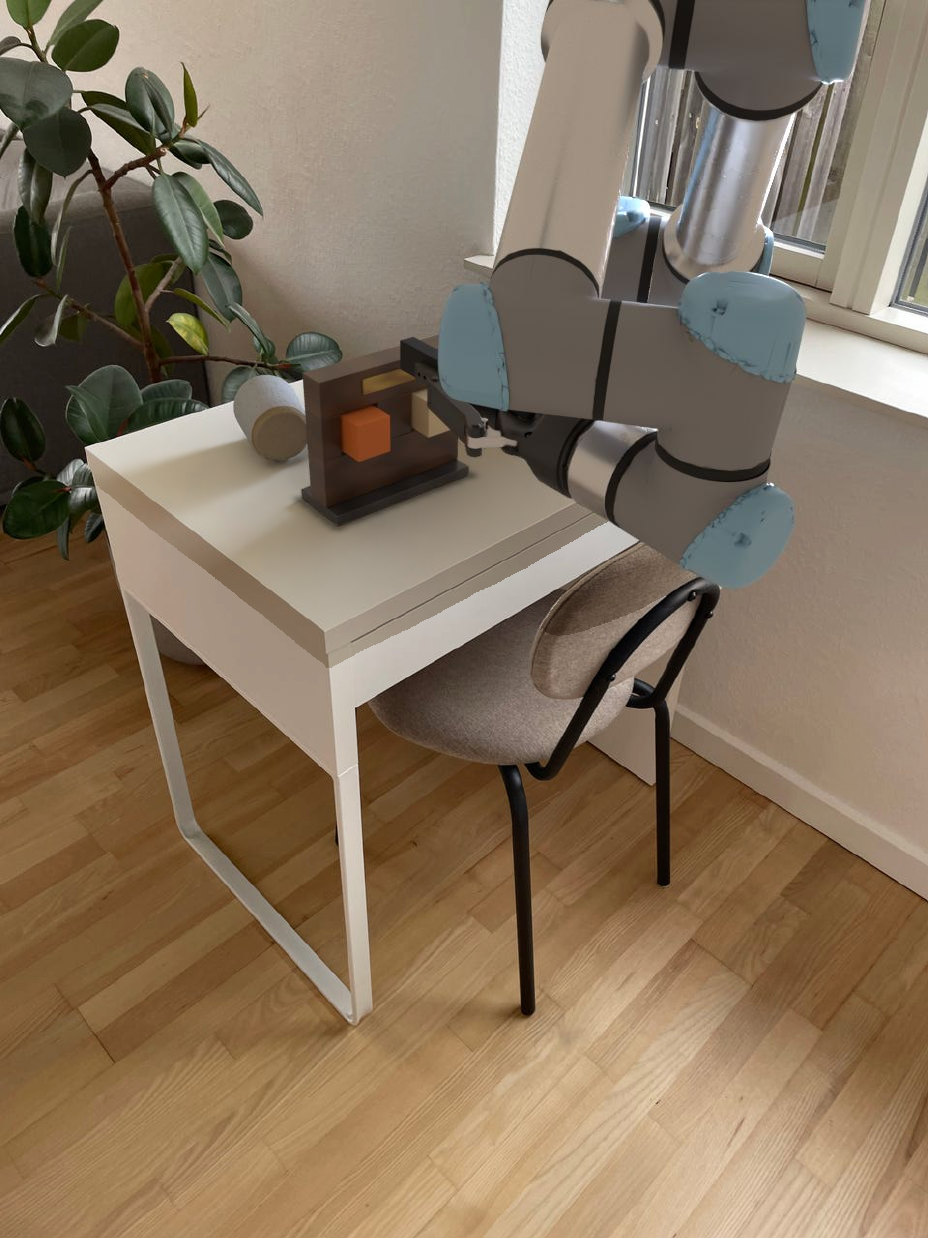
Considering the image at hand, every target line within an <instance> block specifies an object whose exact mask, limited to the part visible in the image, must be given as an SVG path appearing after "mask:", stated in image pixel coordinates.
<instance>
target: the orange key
mask: <svg viewBox="0 0 928 1238" xmlns="http://www.w3.org/2000/svg"><path fill="white" fill-rule="evenodd" d="M339 415H340V434H341V450H342V451H343V452H345V453H346V454H348V455H349V456H351V457H352V458H353V459H355V460H356V461H358V462H360V461H363V460H366V459H369V458H372V457H375V456H378V455H380V454H383V453H386V452H389V451H390V415H388V414H386V413H385V412H383V411H381V410H380V409H378V408H377V407H375V406H373V405H372V404H371V405H368V406H365V407H362V408H358V409H355V410H352V411H349V412H346V413H343V414H339Z"/></svg>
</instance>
